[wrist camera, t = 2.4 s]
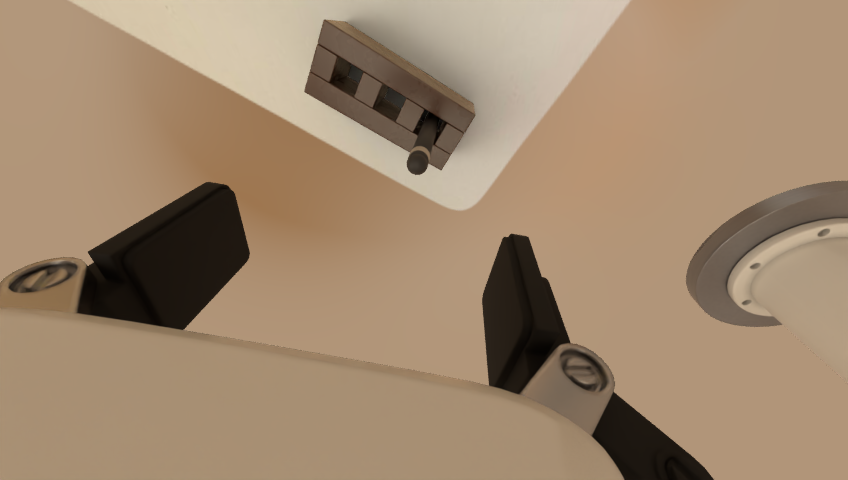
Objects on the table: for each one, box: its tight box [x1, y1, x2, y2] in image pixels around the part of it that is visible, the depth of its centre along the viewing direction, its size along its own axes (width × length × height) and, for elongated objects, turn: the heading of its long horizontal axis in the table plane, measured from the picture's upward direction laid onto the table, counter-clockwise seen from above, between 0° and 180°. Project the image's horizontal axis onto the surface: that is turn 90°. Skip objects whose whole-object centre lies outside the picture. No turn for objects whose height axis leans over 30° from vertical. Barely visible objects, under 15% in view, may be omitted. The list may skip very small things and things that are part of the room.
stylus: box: [407, 112, 440, 175], centre depth 22 cm, size 1×1×13 cm
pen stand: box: [304, 20, 475, 170], centre depth 25 cm, size 5×12×4 cm, turn 61°
